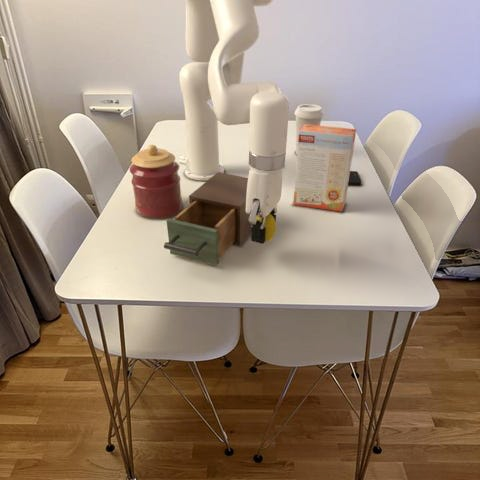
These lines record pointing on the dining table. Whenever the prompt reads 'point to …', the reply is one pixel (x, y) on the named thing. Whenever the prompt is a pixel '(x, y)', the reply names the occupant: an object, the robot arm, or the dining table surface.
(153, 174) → the kitchen canister
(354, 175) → the cell phone
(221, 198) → the cabinet
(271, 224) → the lemon
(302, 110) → the coffee cup
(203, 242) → the drawer
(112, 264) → the dining table surface
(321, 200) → the cracker box
